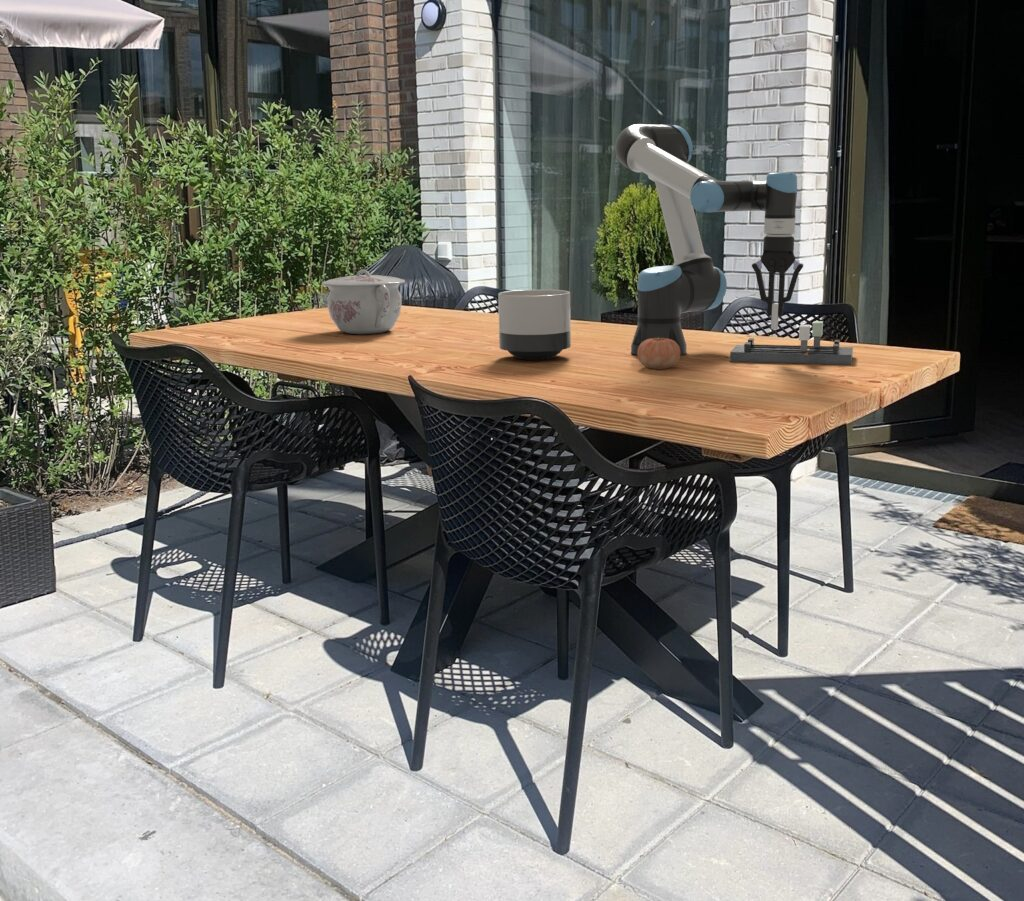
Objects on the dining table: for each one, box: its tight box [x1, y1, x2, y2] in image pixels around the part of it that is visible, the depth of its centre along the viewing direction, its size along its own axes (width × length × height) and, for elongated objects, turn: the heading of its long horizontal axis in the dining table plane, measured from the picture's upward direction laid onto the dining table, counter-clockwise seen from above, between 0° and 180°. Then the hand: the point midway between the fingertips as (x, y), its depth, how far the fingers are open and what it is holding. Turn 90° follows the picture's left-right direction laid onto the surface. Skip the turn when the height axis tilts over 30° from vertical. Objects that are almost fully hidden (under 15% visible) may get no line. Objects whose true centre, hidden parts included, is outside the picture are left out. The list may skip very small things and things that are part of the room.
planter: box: [497, 288, 572, 361], centre depth 292 cm, size 19×19×18 cm
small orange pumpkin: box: [636, 337, 681, 370], centre depth 272 cm, size 11×11×8 cm
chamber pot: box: [321, 268, 406, 335], centre depth 356 cm, size 28×28×21 cm
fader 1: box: [798, 324, 811, 351], centre depth 276 cm, size 2×4×6 cm, turn 161°
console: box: [729, 337, 854, 366], centre depth 281 cm, size 30×16×4 cm, turn 72°
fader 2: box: [811, 320, 824, 347], centre depth 283 cm, size 2×4×6 cm, turn 162°
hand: (774, 328), depth 278 cm, fingers closed
